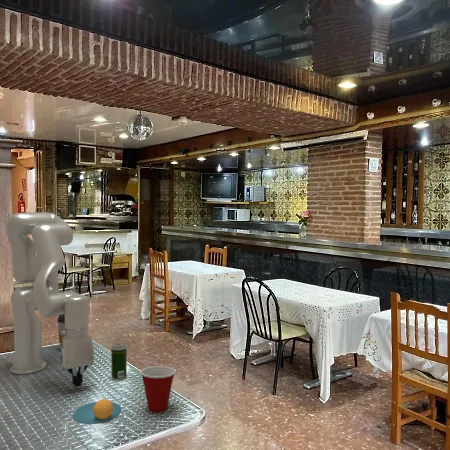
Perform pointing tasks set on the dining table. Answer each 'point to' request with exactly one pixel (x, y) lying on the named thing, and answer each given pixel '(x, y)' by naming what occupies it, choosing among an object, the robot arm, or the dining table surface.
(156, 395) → the plastic cup
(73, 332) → the robot arm
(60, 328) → the coffee cup
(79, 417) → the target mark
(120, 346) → the green soda can
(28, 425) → the dining table surface
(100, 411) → the ball
